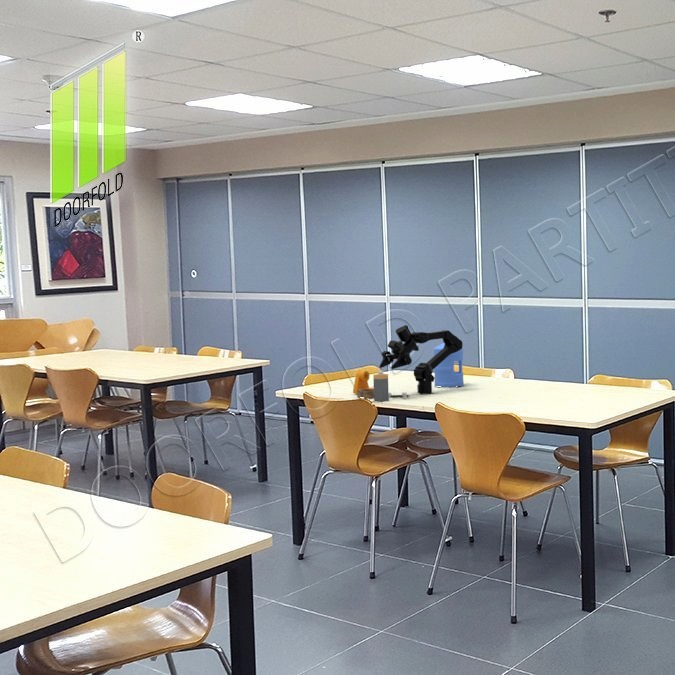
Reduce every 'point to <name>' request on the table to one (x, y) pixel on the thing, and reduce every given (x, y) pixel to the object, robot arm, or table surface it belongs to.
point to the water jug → (449, 369)
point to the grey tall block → (381, 387)
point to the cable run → (397, 395)
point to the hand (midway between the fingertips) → (385, 367)
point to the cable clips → (402, 394)
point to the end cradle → (365, 393)
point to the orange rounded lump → (361, 381)
